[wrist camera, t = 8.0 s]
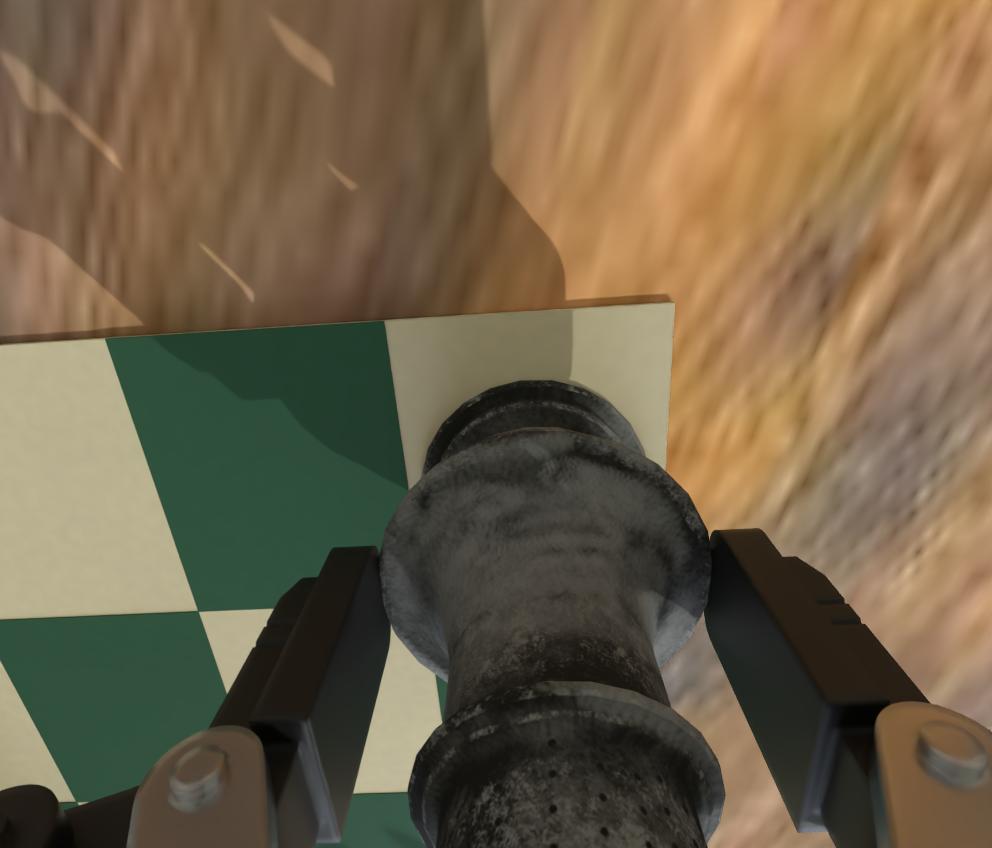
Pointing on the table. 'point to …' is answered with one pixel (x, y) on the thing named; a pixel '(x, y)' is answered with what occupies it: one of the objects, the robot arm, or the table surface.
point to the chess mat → (241, 516)
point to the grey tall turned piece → (551, 629)
